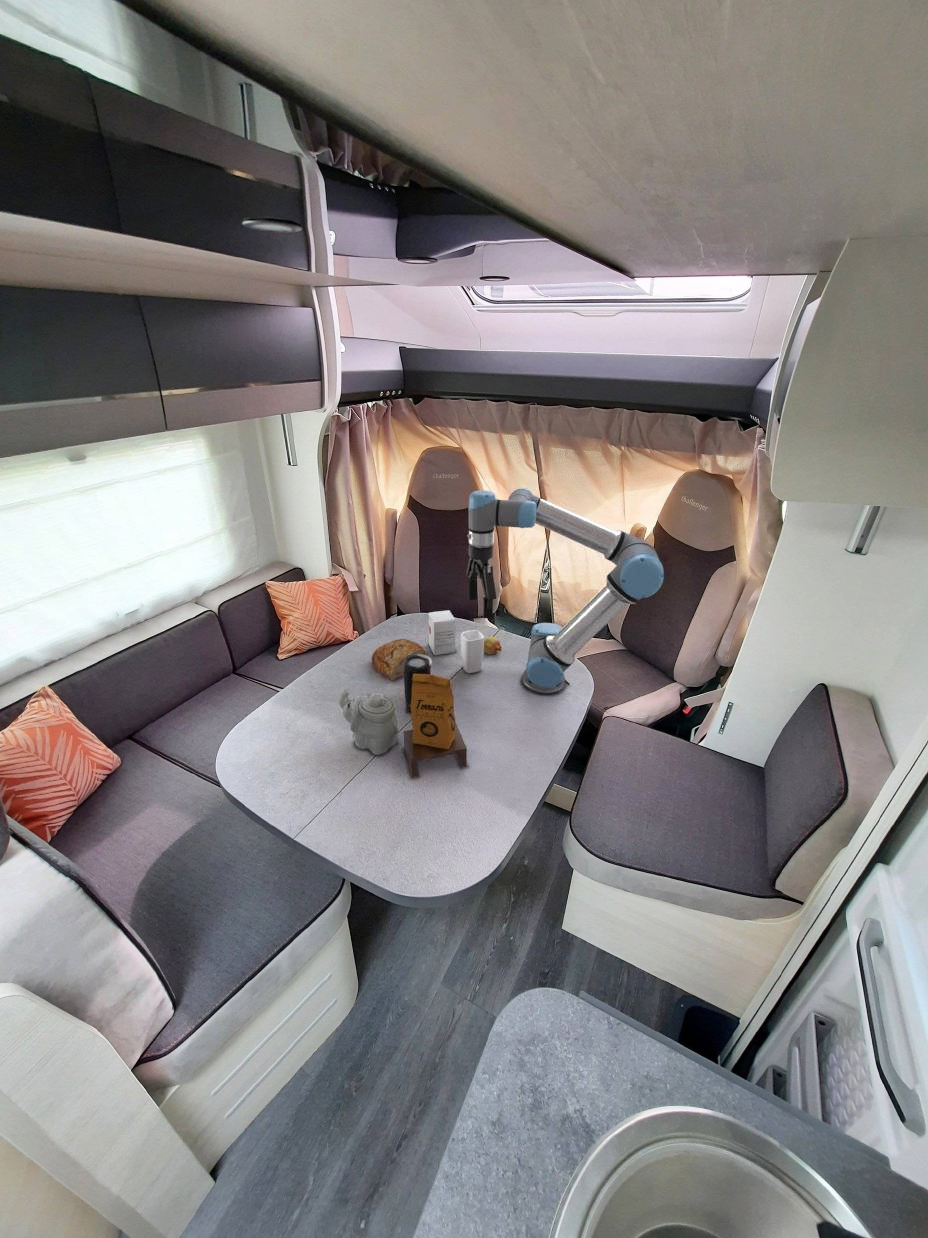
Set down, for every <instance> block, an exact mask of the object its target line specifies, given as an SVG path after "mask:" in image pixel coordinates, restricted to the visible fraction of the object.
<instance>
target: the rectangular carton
mask: <svg viewBox="0 0 928 1238" xmlns="http://www.w3.org/2000/svg"><path fill="white" fill-rule="evenodd" d="M427 616H428V646H429V648H430V650H431V652H432V653H433V656H441V655H446V654H453V653H456V626H457V625H456V623H457V622H456V618H455V617H454V615H453V614H452V612H451V610H449V609H447V610H439V611H431V612H428V615H427Z"/></svg>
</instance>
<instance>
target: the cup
mask: <svg viewBox="0 0 928 1238" xmlns="http://www.w3.org/2000/svg"><path fill="white" fill-rule="evenodd" d="M484 640H485V636H484V635H483V633H482V632H481V631H480V630H478V629H472V630H466V631H462V632H461V633H460V654H461V655H460V656H461V663H462V668H463V670H464V671H465V673H467V674H474V673H477V672H480V671H481V669H482V664H483V659H484Z"/></svg>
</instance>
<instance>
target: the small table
mask: <svg viewBox="0 0 928 1238" xmlns="http://www.w3.org/2000/svg"><path fill="white" fill-rule="evenodd" d="M402 735H403V750H404V752H405V758H406V761H407V764H408V770H409V773H410V777H411V778H416V777H418V762H422V761H427V760H432V759H439V758H444V757H449V756H454V755H455V756H456V759H457V761H458V763H459V766H460V768H461V769H463V768H467V761H468V760H467V757H468V755H467V753H468V747H467V746H466V743H465V740H464V738H463V735H462V734H461V731H460V729H459V727H458V724H457V723H456V730H455V740H454V741H453V742H452V744H451V745H450V748H449V749H444V748H436V747H431V746H427V745H421V744H414V743H413V742H412V736H413V729H409V730H403V734H402Z"/></svg>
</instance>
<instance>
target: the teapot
mask: <svg viewBox="0 0 928 1238" xmlns="http://www.w3.org/2000/svg"><path fill="white" fill-rule="evenodd" d="M350 694H351V691H350V690H349V689H347V688H345V689H344V690H343V692H342V693H341V696H340V697H339V700H338V705H339V707H340V708H341V710H342V716H343V718H344V719H345V721H346V722H348V723H349V729H350V731H351V732H352V736H353V737H354V740H355V746H356V747H357V749H360V750H369V751H370V752H371V754H373V755H375V756H380V755H384V754H385V753H386V752H387V751H388V750H390V749H391V748H392V747H393V746H395V745H396V744H397V743H398V733H399V727H398V726H399V725H398V724H399V718H398V715H397V712H396V711H397V704H396V702H395V700H394V699H393V698H391V697H389V696H386V695H383V694H381V693H378V692H375V693H373V694H372V693H370V692H367V693H366V696H365V695H358V696H356V697H354V698H352V699H350V698H349V695H350Z"/></svg>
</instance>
